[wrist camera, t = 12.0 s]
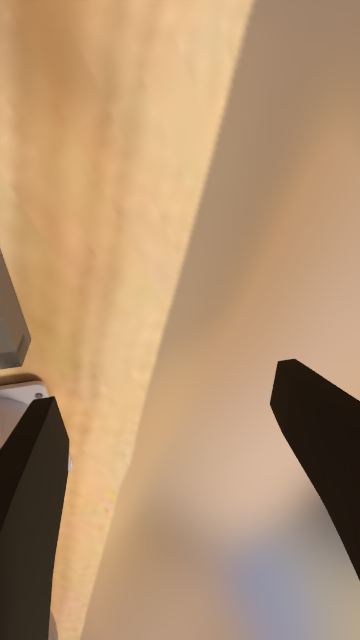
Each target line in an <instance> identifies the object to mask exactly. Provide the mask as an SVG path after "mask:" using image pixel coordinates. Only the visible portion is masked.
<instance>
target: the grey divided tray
mask: <svg viewBox="0 0 360 640" xmlns="http://www.w3.org/2000/svg"><path fill="white" fill-rule="evenodd" d="M30 342H31V337H30V334H29V331H28V328H27V325H26V322H25V319H24V316H23V313H22V311H21V308H20V305H19V302H18V299H17V296H16V293H15V290H14V287H13V284H12V281H11V279H10V276H9V273H8V270H7V267H6V264H5V261H4V258H3V255H2V252H1V249H0V369H6V368H14V367H21V366H22V365H23V362H24V359H25V356H26V353H27V350H28V348H29V345H30Z"/></svg>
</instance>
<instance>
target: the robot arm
mask: <svg viewBox="0 0 360 640" xmlns="http://www.w3.org/2000/svg"><path fill="white" fill-rule="evenodd" d="M36 393H41V394H36ZM270 406H271V408H272V411H273V413H274V415H275V418H276V420H277V422H278V425H279V427H280V429H281V431H282V433H283V435H284V437H285V438H286V440H287V442H288V444H289V445H290V447H291V449H292V450H293V452H294V454H295V456H296V457H297V459H298V461H299V462H300V464H301V466H302V467H303V469H304V471H305V472H306V474H307V476H308V477H309V479H310V481H311V483H312V484H313V486H314V488H315V489H316V491H317V493H318V494H319V496H320V498H321V500H322V502H323V503H324V505H325V507H326V509H327V511H328V513H329V515H330V517H331V519H332V521H333V523H334V525H335V528H336V530H337V532H338V534H339V536H340V538H341V540H342V542H343V544H344V547H345V549H346V551H347V553H348V555H349V558H350V560H351V562H352V564H353V567H354V569H355V571H356V573H357V575H358V578H359V580H360V401H359V400H357V399H356V398H354V397H352V396H351V395H349V394H348V393H346V392H345V391H343V390H342V389H340V388H338V387H337V386H336V385H334V384H332V383H331V382H330V381H328V380H326V379H325V378H323V377H322V376H321V375H319V374H317V373H316V372H315V371H313V370H312V369H310V368H308V367H307V366H305V365H304V364H302V363H301V362H299V361H297V360H296V359H290V360H284V361H278V364H277V369H276V374H275V380H274V384H273V390H272V395H271V400H270ZM72 468H73V463H72V460H71V457H70V454H69V438H68V435H67V432H66V429H65V426H64V423H63V420H62V417H61V414H60V411H59V408H58V405H57V402H56V399H55V396H53V397H50V396H49V394H48V391H47V388H46V385H45V384H44V383H43V382H41V381H30V382H24V383H17V384H10V385H3V386H0V640H58V633H57V626H56V622H55V619H54V616H53V614H52V612H51V610H50V606H51V592H52V578H53V569H54V561H55V553H56V547H57V541H58V535H59V528H60V522H61V516H62V509H63V503H64V496H65V490H66V483H67V477H68V472H69V471H71V470H72Z"/></svg>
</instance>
